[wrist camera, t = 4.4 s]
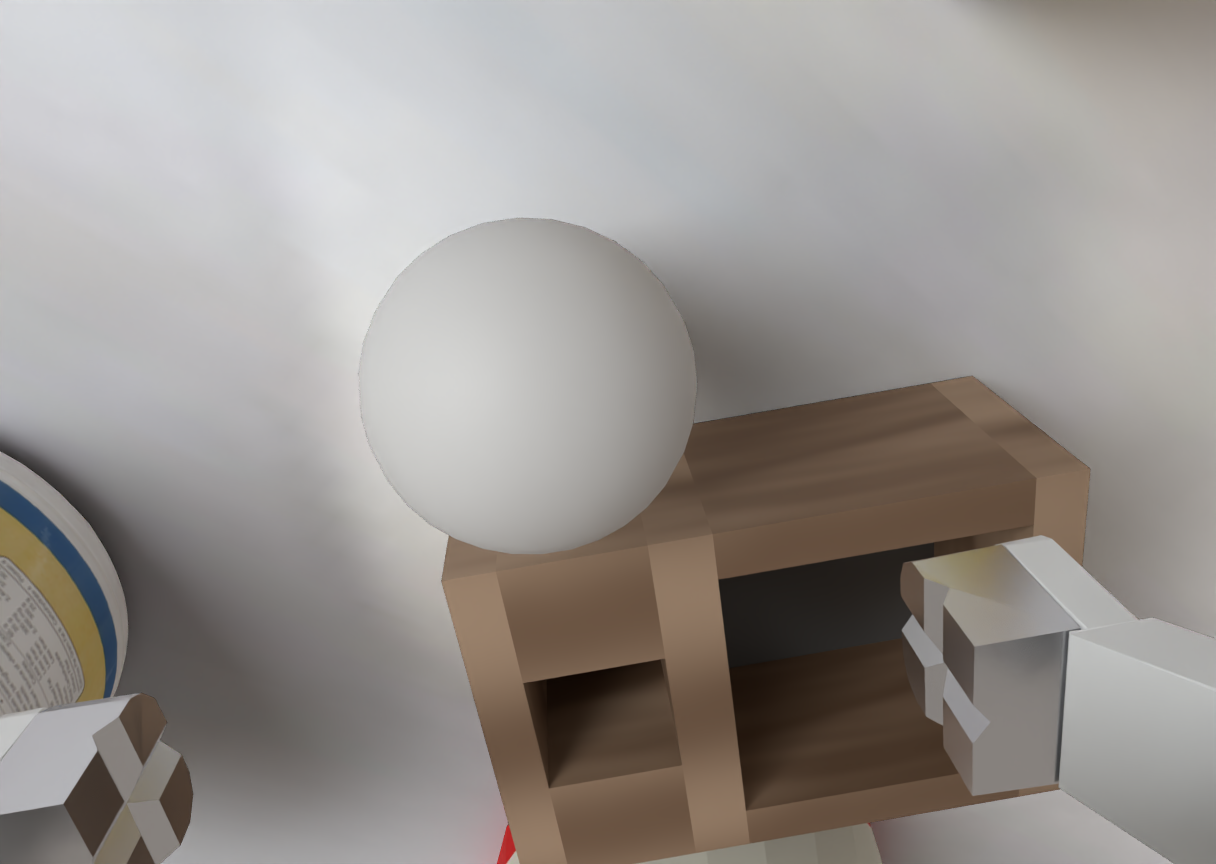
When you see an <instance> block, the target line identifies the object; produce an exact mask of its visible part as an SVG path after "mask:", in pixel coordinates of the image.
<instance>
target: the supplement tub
mask: <svg viewBox="0 0 1216 864" xmlns="http://www.w3.org/2000/svg"><path fill="white" fill-rule="evenodd" d="M127 642H128V617H127V608H126V602H125V597H124V593H123V589H122V586H121V583H120V580H119V577H118V575H117V572H116V570H115V568H114V566H113V564H112V561H111V559H110V557H109V555H108V553H107V552H106V550H105V548H104V546H103V545H102V543H101V541H100V540H99V538H98V537H97V535H96V533H95V532H94V530H93V529H92V527H91V526H90V524H89V523H88V522H87V521H86V520H85V519H84V518H83V516H82V515H81V514H80V513H79V512H78V511H77V510H76V509H75V508H74V507H73V506H72V505H71V504H70V503H69V502H68V501H67V500H66V499H65V498H64V497H63V496H62V495H61V494H60V493H59V492H58V491H57V490H56V489H54V488H53V487H52V486H51V485H50V484H48V483H47V482H46V481H45V480H44V479H43V478H41V477H40V476H39V475H37V474H36V473H34V472H33V471H32V470H30V469H29V468H27V467H26V466H24V465H23V464H22V463H20V462H18V461H16V460H15V459H13V458H11V457H9V456H7V455H6V454H4V453H2V452H0V716H3V715H5V714H9V713H15V712H20V711H26V710H32V709H37V708H49V707H52V706H57V705H63V704H70V703H77V702H83V701H90V700H96V699H103V698H110V697H113V696H114V694H115V692H116V690H117V687H118V684H119V681H120V677H121V673H122V669H123V665H124V661H125V657H126V651H127Z"/></svg>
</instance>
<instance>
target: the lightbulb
mask: <svg viewBox="0 0 1216 864" xmlns="http://www.w3.org/2000/svg"><path fill="white" fill-rule="evenodd" d="M358 376H359V392H360V408H361V418H362V422H363V425H364V429H365V432H366V436H367V439H368V443H369V446H370V448H371V450H372V452H373V454H374V456H375V458H376V460H377V462H378V463H379V465H380V467H381V469H382V471H383V473H384V475H385V477H386V478H387V480H388V482H389V483H390V485H391V486H392V487H393V488H394V490H395V491H396V492H397V493H398V495H399V496H400V497H401V498H402V500H403V501H404V502H405V503H406V504H407V506H409V507H410V508H411V509H412V510H413V511H415V512H416V513H417V514H418V515H419V516H420V517H422V518H423V519H424V520H425V521H426V522H428V523H429V524H430V525H432V526H434V527H435V528H437V529H439V530H441V531H442V532H444V533H446V534H448V535H449V536H451V537H453V538H455V539H457V540H460V541H462V542H465V543H468V544H471V545H474V546H476V547H479V548H482V549H486V550H492V551H498V552H503V553H509V554H547V553H553V552H559V551H565V550H571V549H574V548H577V547H580V546H583V545H586V544H589V543H592V542H595V541H598V540H600V539H602V538H604V537H605V536H607V535H609V534H611V533H613V532H614V531H616V530H618V529H620V528H622V527H623V526H625V525H626V524H627V523H629V522H630V521H631V520H632V519H634V518H635V517H636V516H637V515H638V514H640V513H641V512H642V511H643V510H645V509H646V508H647V507H648V506H649V505H650V503H651V502H652V501H653V500H654V499H655V497H656V496H657V495H658V494H659V493H660V492H661V490H662V489H663V488H664V487H665V485H666V484H667V482H668V480H669V478H670V476H671V475H672V473H673V471H674V469H675V467H676V466H677V464H678V462H679V460H680V458H681V457H682V455H683V453H684V451H685V448H686V445H687V441H688V438H689V435H690V432H691V429H692V426H693V422H694V412H695V402H696V392H697V375H696V366H695V357H694V350H693V347H692V344H691V341H690V338H689V335H688V332H687V329H686V326H685V322H684V320H683V318H682V316H681V314H680V313H679V311H678V309H677V307H676V306H675V304H674V302H673V300H672V299H671V297H670V295H669V294H668V292H667V290H666V288H665V287H664V285H663V284H662V283H661V282H660V281H659V280H658V278H657V277H656V276H655V275H654V274H653V273H652V272H651V271H650V270H649V268H648V267H647V266H646V265H645V264H644V263H643V262H642V261H641V260H640V259H638V258H637V257H636V256H634V255H633V254H632V253H630V252H629V251H627V250H626V249H625V248H623V247H622V246H621V245H619V244H618V243H617V242H615V241H613V240H611V239H609V238H607V237H604V236H602V235H600V234H598V233H596V232H594V231H592V230H589V229H587V228H585V227H581V226H577V225H573V224H569V223H565V222H561V221H557V220H552V219H534V218H512V219H506V220H500V221H493V222H487V223H482V224H479V225H476V226H474V227H471V228H468V229H466V230H463V231H460V232H458V233H455V234H452V235H450V236H448V237H447V238H445V239H443V240H442V241H440V242H439V243H437V244H436V245H434V246H432V247H431V248H429V249H428V250H426V251H424V252H423V253H421V254H420V255H419V256H418V257H417V258H416V259H415V260H414V261H413V262H412V263H411V264H410V265H409V266H408V267H407V268H406V269H405V270H404V271H403V272H402V273H401V274H400V275H399V276H398V277H397V278H396V280H395V281H394V283H393V284H392V286H391V287H390V289H389V290H388V292H387V293H386V295H385V296H384V298H383V299H382V301H381V302H380V304H379V306H378V308H377V309H376V311H375V313H374V316H373V318H372V321H371V324H370V326H369V329H368V331H367V334H366V336H365V339H364V342H363V347H362V353H361V360H360V366H359V373H358Z"/></svg>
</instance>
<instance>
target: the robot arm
mask: <svg viewBox="0 0 1216 864" xmlns="http://www.w3.org/2000/svg"><path fill="white" fill-rule="evenodd" d="M900 582H901V597H902V599H903V600H904V602H905V603H906V605H907V606H908V608H909V609H910V611H911V613H912V616H911V617H910V619H909V620H908V622H907V623H906V624H905V626H904V627H903V629H902V646H903V658H904V662H905V667H906V671H907V676H908V680H909V683H910V685H911V688H912V690H913V693H914V695H915V698H916V700H917V702H918V704H919V705H920V707H921V709H922V711H923V713H924V714H925V716H926V717H928V718H930V719H931V720H933V721H935V722H937V723H939V724H941V725H943V747H944V749H945V751H946V752H947V754H948V756H949V757H950V759H951V761H952V762H953V764H954V766H955V767H956V769H957V771H958V772H959V774H960V776H961V778H962V779H963V781H964V783H965V784H966V786H967V788H968V789H969V791H970V793H971V794H972V796H976V795H983V794H990V793H997V792H1004V791H1011V790H1018V789H1025V788H1032V787H1038V786H1045V785H1052V784H1059V787H1058V788H1060V789H1061V790H1063V791H1064V792H1066V793H1067V794H1069V795H1070V796H1072V797H1073V798H1075V799H1076V800H1078V801H1079V802H1081V803H1083V804H1084V805H1086V806H1087V807H1089V808H1090V809H1092V810H1093V811H1095V812H1096V813H1098V814H1099V815H1101V816H1102V817H1104V818H1105V819H1107V820H1108V821H1110V822H1111V823H1113V824H1114V825H1116V826H1118V827H1119V828H1121V829H1122V830H1124V831H1125V832H1127V833H1128V834H1130V835H1131V836H1133V837H1134V838H1136V839H1137V840H1139V841H1140V842H1142V843H1143V844H1145V845H1146V846H1148V847H1150V848H1151V849H1153V850H1154V851H1156V852H1157V853H1159V854H1160V855H1162V856H1163V857H1165V858H1166V859H1168V860H1169V861H1171V862H1172V863H1174V864H1216V639H1215V638H1212V637H1209V636H1206V635H1203V634H1200V633H1197V632H1194V631H1192V630H1189V629H1186V628H1183V627H1180V626H1177V625H1174V624H1171V623H1168V622H1165V621H1162V620H1160V619H1157V618H1154V617H1153V618H1147V619H1141V620H1138V619H1137V618H1136V617H1135V616H1134V615H1133V614H1132V613H1131V612H1130V611H1129V610H1127V609H1126V608H1125V607H1124V606H1123V605H1122V604H1121V603H1120V602H1119V601H1118V600H1117V599H1116V598H1115V597H1114V596H1113V595H1111V594H1110V593H1109V592H1108V591H1107V590H1106V589H1105V588H1104V587H1103V586H1102V585H1101V584H1100V583H1099V582H1098V581H1097V580H1095V579H1094V578H1093V577H1092V576H1091V575H1090V574H1089V573H1088V572H1087V571H1086V570H1085V569H1084V568H1083V567H1082V566H1081V565H1079V564H1078V563H1077V562H1076V561H1075V560H1074V559H1073V558H1072V557H1071V556H1070V555H1069V554H1068V553H1067V552H1066V551H1065V550H1063V549H1062V548H1061V547H1060V546H1059V545H1058V544H1057V543H1056V542H1055V541H1054V540H1053V539H1051V538H1048V537H1045V536H1042V535H1040V536H1035V537H1030V538H1025V539H1020V540H1015V541H1010V542H1006V543H1001V544H996V545H995V546H991V547H985V548H980V549H975V550H969V551H964V552H959V553H953V554H948V555H943V556H937V557H932V558H927V559H921V560H916V561H911V562H905V563H903V567H902V571H901V576H900ZM166 724H167V721H166V719H165V717H164V715H163V713H162V711H161V709H160V707H159V705H158V703H157V701H156V700H155V698H153V697H151V696H148V695H146V694H143V693H136V694H130V695H123V696H116V697H110V698H103V699H96V700H90V701H83V702H77V703H70V704H63V705H57V706H52V707H49V708H37V709H32V710H26V711H20V712H15V713H9V714H5V715H3V716H0V864H160V863H162V862H163V861H164V860H165V859H166V858H167V857H168V856H169V855H170V854H171V853H173V852H174V851H175V850H176V849H177V848H178V847H179V846H180V845H181V843H182V840H183V838H184V835H185V833H186V831H187V828H188V826H189V823H190V818H191V809H192V800H193V790H192V785H191V779H190V773H189V770H188V768H187V766H186V763H185V761H184V759H183V756H182V754H180V753H179V752H177V751H176V750H174V749H172V748H171V747H169V746H168V745H166V744H165V743H163V742H162V741H160V739H161V737H162V734H163V731H164V729H165V726H166Z"/></svg>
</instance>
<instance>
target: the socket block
mask: <svg viewBox="0 0 1216 864" xmlns="http://www.w3.org/2000/svg"><path fill="white" fill-rule="evenodd" d="M1089 480H1090V468H1089V467H1087V466H1086V465H1085V464H1084V463H1082V462H1081V461H1080V460H1078V459H1077V458H1076V457H1075V456H1073V455H1072V454H1071V453H1070V452H1068V451H1067V450H1066V449H1065V448H1063V447H1062V446H1061V445H1059V444H1058V443H1057V442H1056V441H1054V440H1053V439H1052V438H1051V437H1049V436H1048V435H1047V434H1046V433H1044V432H1043V431H1042V430H1041V429H1039V428H1038V427H1037V426H1035V425H1034V424H1033V423H1032V422H1030V421H1029V420H1028V419H1027V418H1025V417H1024V416H1023V415H1022V414H1020V413H1019V412H1018V411H1016V410H1015V409H1014V408H1013V407H1011V406H1010V405H1009V404H1008V403H1006V402H1005V401H1004V400H1003V399H1001V398H1000V397H999V396H997V395H996V394H995V393H994V392H992V391H991V390H990V389H989V388H987V387H986V386H985V385H984V384H982V383H981V382H980V381H979V380H977V379H976V378H975V377H973V376H969V377H963V378H958V379H952V380H946V381H940V382H934V383H928V384H923V385H917V386H911V387H905V388H899V389H894V390H888V391H882V392H876V393H870V394H865V395H859V396H853V397H847V398H841V399H835V400H830V401H824V402H818V403H812V404H806V405H801V406H795V407H789V408H783V409H777V410H771V411H766V412H760V413H754V414H748V415H742V416H737V417H731V418H725V419H719V420H713V421H708V422H702V423H696V424H693V426H692V429H691V432H690V435H689V438H688V441H687V445H686V448H685V451H684V453H683V455H682V457H681V458H680V460H679V462H678V464H677V466H676V467H675V469H674V471H673V473H672V475H671V476H670V478H669V480H668V482H667V484H666V485H665V487H664V488H663V489H662V490H661V492H660V493H659V494H658V495H657V496H656V497H655V499H654V500H653V501H652V502H651V503H650V505H649V506H648V507H647V508H646V509H645V510H643V511H642V512H641V513H640V514H638V515H637V516H636V517H635V518H634V519H632V520H631V521H630V522H629V523H627V524H626V525H625V526H623V527H622V528H620V529H618V530H616V531H614V532H613V533H611V534H609V535H607V536H605V537H604V538H602V539H600V540H598V541H595V542H592V543H589V544H586V545H583V546H580V547H577V548H574V549H571V550H565V551H559V552H553V553H547V554H509V553H503V552H498V551H492V550H486V549H482V548H479V547H476V546H474V545H471V544H468V543H465V542H462V541H460V540H457V539H455V538H453V537H451V536H449V538H448V544H447V550H446V556H445V562H444V568H443V574H442V580H441V582H442V585H443V589H444V592H445V596H446V600H447V603H448V607H449V610H450V614H451V618H452V621H453V625H454V628H455V632H456V636H457V639H458V643H459V647H460V650H461V654H462V657H463V661H464V665H465V668H466V672H467V675H468V679H469V683H470V686H471V690H472V693H473V697H474V701H475V704H476V708H477V712H478V715H479V719H480V722H481V726H482V730H483V733H484V737H485V740H486V744H487V748H488V751H489V755H490V758H491V762H492V766H493V769H494V773H495V777H496V780H497V784H498V787H499V791H500V795H501V798H502V802H503V805H504V809H505V813H506V816H507V820H508V823H509V827H510V831H511V834H512V838H513V842H514V845H515V849H516V852H517V856H518V860H519V863H520V864H637V863H643V862H648V861H654V860H660V859H666V858H671V857H677V856H683V855H688V854H694V853H700V852H705V851H711V850H717V849H723V848H728V847H734V846H740V845H745V844H751V843H757V842H763V841H768V840H774V839H780V838H785V837H791V836H797V835H802V834H808V833H814V832H820V831H825V830H831V829H837V828H842V827H848V826H854V825H859V824H865V823H871V822H877V821H882V820H888V819H894V818H899V817H905V816H911V815H916V814H922V813H928V812H934V811H939V810H945V809H951V808H956V807H962V806H968V805H973V804H979V803H985V802H991V801H996V800H1002V799H1008V798H1013V797H1019V796H1025V795H1030V794H1036V793H1042V792H1048V791H1053V790H1059V789H1060V788H1058V787H1059V784H1052V785H1045V786H1038V787H1032V788H1025V789H1018V790H1011V791H1004V792H997V793H990V794H983V795H976V796H972V794H971V793H970V791H969V789H968V788H967V786H966V784H965V783H964V781H963V779H962V778H961V776H960V774H959V772H958V771H957V769H956V767H955V766H954V764H953V762H952V761H951V759H950V757H949V756H948V754H947V752H946V751H945V749H944V747H943V725H941V724H939V723H937V722H935V721H933V720H931V719H930V718H928V717H926V716H925V714H924V713H923V711H922V709H921V707H920V705H919V704H918V702H917V700H916V698H915V695H914V693H913V690H912V688H911V685H910V683H909V680H908V676H907V671H906V667H905V662H904V658H903V646H902V629H903V627H904V626H905V624H906V623H907V622H908V620H909V619H910V617H911V616H912V613H911V611H910V609H909V608H908V606H907V605H906V603H905V602H904V600H903V599H902V597H901V582H900V576H901V571H902V567H903V563H905V562H911V561H916V560H921V559H927V558H932V557H937V556H943V555H948V554H953V553H959V552H964V551H969V550H975V549H980V548H985V547H991V546H995V545H996V544H1001V543H1006V542H1010V541H1015V540H1020V539H1025V538H1030V537H1035V536H1040V535H1042V536H1045V537H1048V538H1051V539H1053V540H1054V541H1055V542H1056V543H1057V544H1058V545H1059V546H1060V547H1061V548H1062V549H1063V550H1065V551H1066V552H1067V553H1068V554H1069V555H1070V556H1071V557H1072V558H1073V559H1074V560H1075V561H1076V562H1077V563H1078V564H1079V565H1081V566H1082V562H1083V551H1084V539H1085V527H1086V515H1087V503H1088V491H1089Z"/></svg>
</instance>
